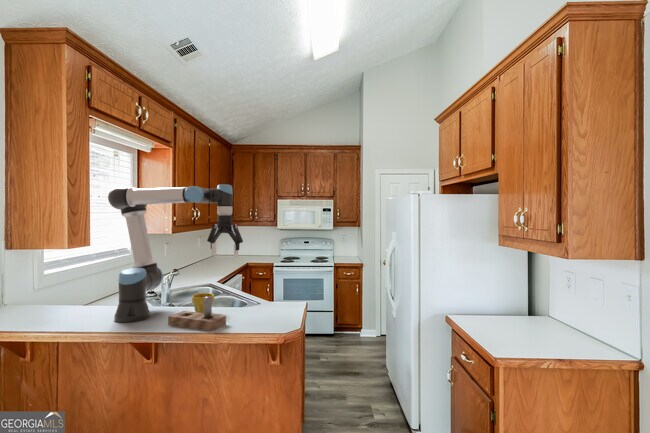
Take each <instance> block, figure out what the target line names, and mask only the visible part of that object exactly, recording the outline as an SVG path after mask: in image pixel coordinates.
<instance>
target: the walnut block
mask: <svg viewBox="0 0 650 433" xmlns="http://www.w3.org/2000/svg"><path fill="white" fill-rule="evenodd" d="M167 318H168V319H167V320H168V322H167V323H168V326H174V327H180V328H181V327H182V328H187V329H193V330H202V331H207V332H208V331H209V332H212V331H215V330H218V329H220V328H222V327H224V326H226V325H227V316H226V315H221V314H212V318H211V319H204V313H198V312H195V311H189V310H182V311H180V312H179V311H178V312H176V313H173V314H171V315H168V316H167Z"/></svg>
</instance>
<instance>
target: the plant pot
mask: <svg viewBox="0 0 650 433" xmlns="http://www.w3.org/2000/svg"><path fill="white" fill-rule="evenodd" d="M208 296H211V297H212V303H214V301H215V294H214V293H210V292H202V293H201V292H200V293H195V294H193V295H192V297H191V300H192V302H191V303H192V304H193V307H194V312H198V313H204V297H208Z"/></svg>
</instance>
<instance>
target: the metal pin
mask: <svg viewBox="0 0 650 433" xmlns="http://www.w3.org/2000/svg"><path fill="white" fill-rule="evenodd" d="M212 306H213V302H212V297H211V296H208V297H204V319H211V318H212V313H213V310H212Z"/></svg>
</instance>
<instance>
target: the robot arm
mask: <svg viewBox="0 0 650 433" xmlns="http://www.w3.org/2000/svg"><path fill="white" fill-rule="evenodd" d="M233 192H234V191H233V186H232V185H231V184H218V185H217V187H215V188H205V187H200V186H197V185H191V186H181V187H179V186H178V187H155V188H154V187H153V188H152V187H151V188H138V187H134V186H124V185H122V186H115V187H113V188H112V189H111V190H110V191H109V193H108V195H107V201H108V203H109V204H110V206H111V207H112V208H114V209H116V210H120V212H121V216H122V217H124V218H125V221H126V222H125V223H126V226H127V230H128V236H129V241H130V247H131V252H132V256H133V263H134V264H133V265H132V266H131V268H126V269H123V270H121V271H120V272H119V274H118V280H117V281H118V305H117V308H116V310H115V311H116V312H115V313H114V320H113V321H114V322H117V323H133V322H140V321H143V320H147V319H149V318H150V317H151V315H150V314H151V311H150V310H149V305H148V302H147V292H149V291H152V290H154V289H157V287H159V286H160V285H161V284H162V282H163V280H164V274H163V271H162V269H161V268H159V267H158V263H157V261H156V260H154V259H153V253H152V250H151V249H152V248H151V244H150V239H149V234H148V229H147V224H146V223H147V222H146V218H145V214H146V213H147V205H157V204H158V205H159V204H160V205H161V204H162V205H163V204H183V203H184V204H187V203H190V204H192V203H196V204H217V206H216V208H217V209H216V210H217V211H216V214H217V221H216V222H217V223H213V224H212V226H211V230H210V233H209V234H208V235H209V236H208V238H207V240H206V241H207V242H208V243H210V250H211V256H212V257H213V256H214V257H215V256H217V240H218V238H219V237H220V236H221V234H228V235H229V237H230V239H232V240H233V242H234V244H233V258H237V257H239V251H240V244H241V243H243V242H244V239H243V238H242V235H241V233H240V230H239V227H238V224H237V223H235V224H233V215H232V214H233V195H234V194H233Z"/></svg>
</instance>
